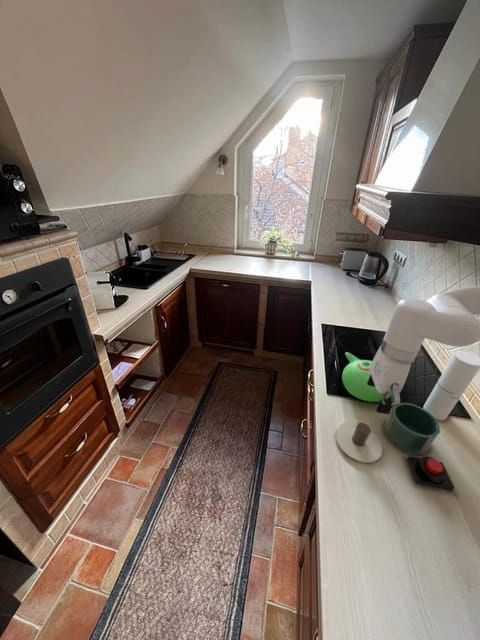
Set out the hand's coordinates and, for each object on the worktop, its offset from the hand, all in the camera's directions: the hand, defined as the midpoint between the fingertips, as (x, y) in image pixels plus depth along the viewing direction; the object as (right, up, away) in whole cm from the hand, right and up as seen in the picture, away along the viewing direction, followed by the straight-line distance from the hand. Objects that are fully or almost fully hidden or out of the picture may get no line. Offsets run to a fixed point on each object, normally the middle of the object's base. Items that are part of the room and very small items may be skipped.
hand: (377, 398), depth 70 cm
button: (+16, -20, +1) cm, 26 cm away
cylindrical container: (+33, -12, +22) cm, 41 cm away
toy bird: (+10, -7, +29) cm, 31 cm away
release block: (+16, -23, +3) cm, 28 cm away
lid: (-1, -17, +10) cm, 20 cm away
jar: (+16, -16, +13) cm, 27 cm away
